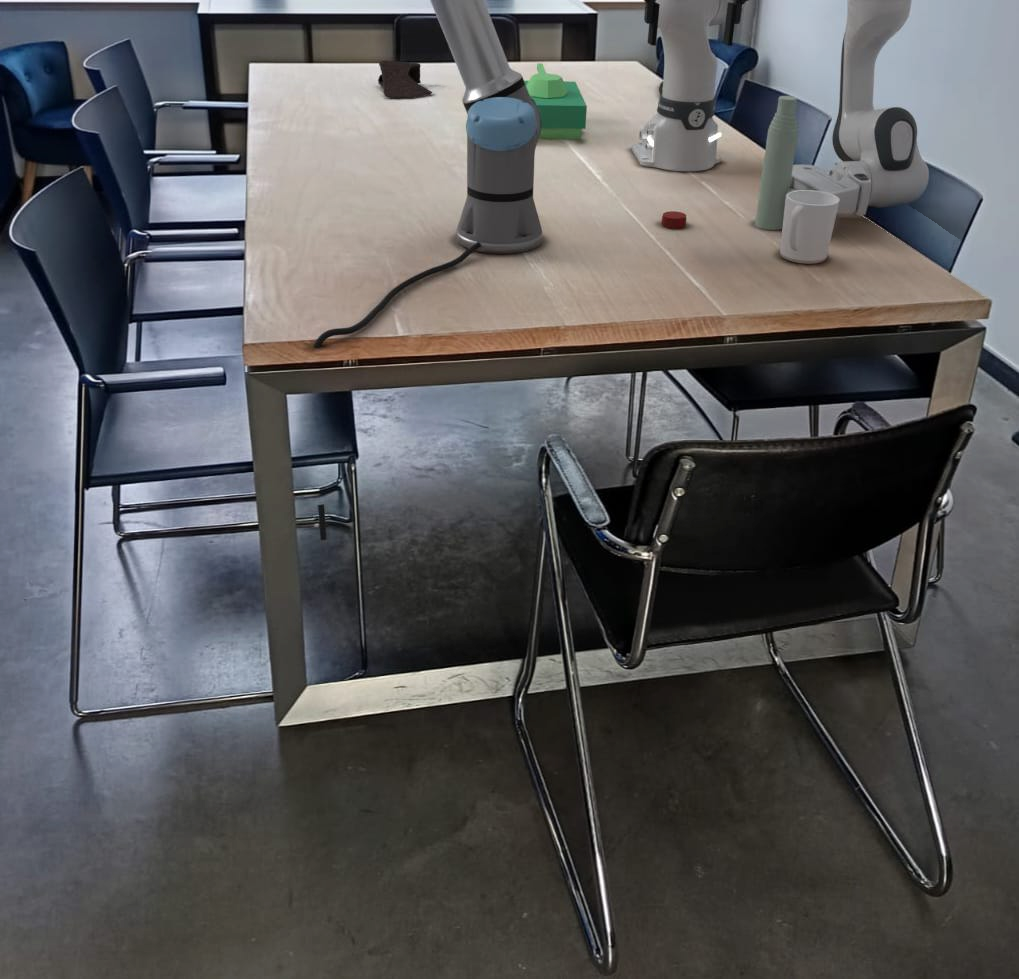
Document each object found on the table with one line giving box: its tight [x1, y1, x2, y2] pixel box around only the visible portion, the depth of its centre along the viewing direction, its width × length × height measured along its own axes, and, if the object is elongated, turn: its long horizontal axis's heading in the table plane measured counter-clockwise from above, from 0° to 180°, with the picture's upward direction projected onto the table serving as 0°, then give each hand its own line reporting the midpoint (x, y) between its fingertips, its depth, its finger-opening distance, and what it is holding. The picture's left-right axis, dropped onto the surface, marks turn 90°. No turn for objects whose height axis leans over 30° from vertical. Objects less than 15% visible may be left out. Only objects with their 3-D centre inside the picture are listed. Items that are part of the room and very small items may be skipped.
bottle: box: [754, 95, 799, 231], centre depth 200 cm, size 5×5×23 cm
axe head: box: [377, 59, 433, 99], centre depth 299 cm, size 18×8×15 cm
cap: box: [661, 210, 687, 230], centre depth 205 cm, size 4×4×2 cm
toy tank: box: [524, 63, 588, 141], centre depth 266 cm, size 18×12×35 cm
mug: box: [779, 190, 840, 265], centre depth 188 cm, size 11×9×10 cm
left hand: (689, 44), depth 189 cm, fingers open, 13 cm apart
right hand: (777, 189), depth 203 cm, fingers open, 8 cm apart
